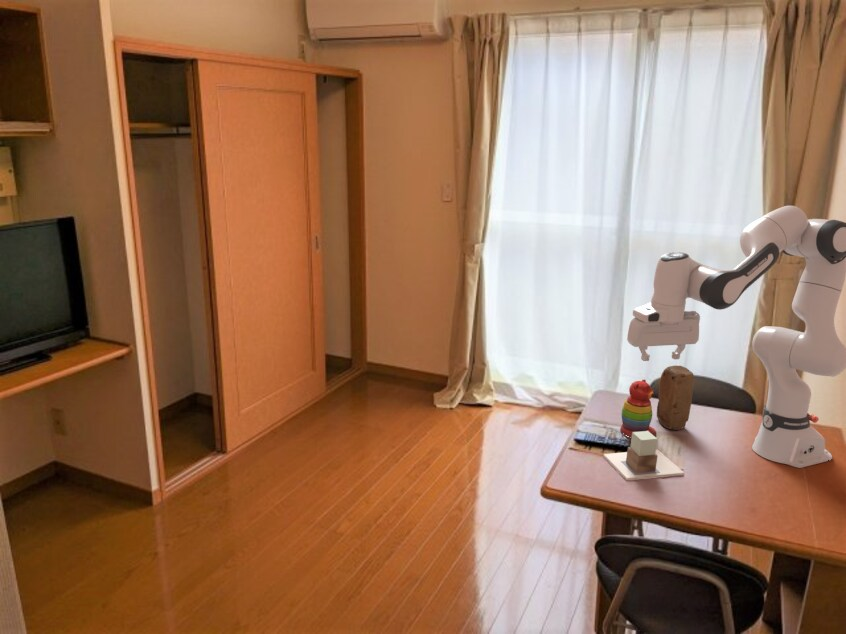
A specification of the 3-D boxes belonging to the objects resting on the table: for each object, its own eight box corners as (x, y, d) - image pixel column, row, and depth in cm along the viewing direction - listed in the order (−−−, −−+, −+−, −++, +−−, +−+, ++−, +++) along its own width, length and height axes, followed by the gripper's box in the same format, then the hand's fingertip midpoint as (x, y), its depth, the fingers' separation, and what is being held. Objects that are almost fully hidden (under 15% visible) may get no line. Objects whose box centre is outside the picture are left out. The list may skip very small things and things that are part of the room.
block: (689, 430, 218) (698, 373, 213) (668, 432, 217) (676, 374, 211) (671, 416, 229) (679, 362, 223) (651, 417, 227) (659, 362, 221)
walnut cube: (644, 460, 196) (646, 445, 195) (655, 471, 191) (657, 455, 189) (625, 462, 195) (627, 447, 193) (636, 472, 189) (638, 457, 188)
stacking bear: (639, 443, 209) (646, 390, 204) (612, 431, 216) (618, 380, 211) (658, 434, 215) (665, 383, 210) (631, 422, 223) (638, 373, 218)
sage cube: (645, 446, 194) (647, 430, 193) (655, 454, 189) (657, 438, 188) (630, 447, 193) (632, 432, 192) (639, 456, 188) (641, 440, 187)
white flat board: (657, 451, 204) (657, 449, 203) (683, 475, 191) (684, 472, 190) (603, 456, 200) (603, 453, 200) (626, 480, 187) (626, 477, 186)
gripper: (693, 307, 187) (686, 353, 191) (627, 310, 183) (621, 357, 187) (707, 313, 181) (700, 361, 185) (639, 316, 177) (633, 365, 181)
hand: (660, 359), depth 186 cm, fingers open, 8 cm apart
